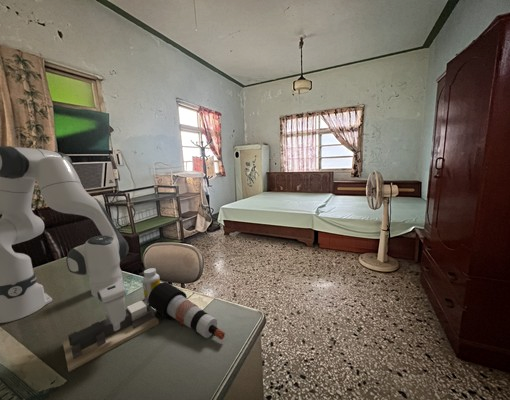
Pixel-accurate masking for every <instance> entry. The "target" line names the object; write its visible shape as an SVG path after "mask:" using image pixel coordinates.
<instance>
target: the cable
mask: <svg viewBox="0 0 510 400" xmlns="http://www.w3.org/2000/svg"><path fill="white" fill-rule="evenodd" d="M147 303H148V304H149V305H150V306H151V307H152V308H153V309H154V311H156V312H158V313H159V314H160V315H161V316H163V317H164V318H166V319H167V320H172V319H175V320H176V321H178V322H179V323H180V324H181V325H184V326H186V327H188V328H190V329H191V330H192V331H195V332H196V333H197V334H199V335H201V336H202V337H203V338H205V339H209V338H210V337H211V336H212V335H213V337H217V338H218V339H219V340H224V338H225V336H226V332H224V331H223V330H221V329H220V328H219V327H218V319H216V318H215V317H213V316H212V315H210V314H209V313H208V312H206V311H204V310H203V309H202V308H201V307H199V306H198V305H197V304H195V303H193V302H192V301H190V300H189V299H188V297H187V294H186V293H185V292H184V291H183V290H181V289H179V288H178V287H176V286H174V285H173V284H172V283H169V282H166V281H162V282H160V284H158V285H157V286H155V287H154V288H153V289H152V291H151V292H150V295H149V297H148V302H147Z"/></svg>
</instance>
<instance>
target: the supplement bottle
mask: <svg viewBox="0 0 510 400" xmlns="http://www.w3.org/2000/svg"><path fill="white" fill-rule="evenodd" d="M143 275H144V277H142V280H141V281H142V288H143V296H144V301H146V302H147V303H148V297H149V295H150V292H151V291H152V289H153V288H154V287H155V286H157V285H158V284H160V283H161V280H160V279H161V277H160V275H159V273H157V269H156V268H155V267H150V268H148V269H144V271H143Z"/></svg>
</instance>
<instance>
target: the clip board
mask: <svg viewBox="0 0 510 400" xmlns="http://www.w3.org/2000/svg"><path fill="white" fill-rule="evenodd" d="M142 302H143V303H144V304H145V305H146V306H147V312H146V313H144V314H142V315H140V316H138V317H136V318H133V319H131V320H132V325H131V326H129V327H127V328H125V329H123V330H121V331H119V332H117V333H115V334H113V335H111V336H109V337H107V338H105V334H104V332H102V333H100V334H98V335H96V339H97V343H95V344H93V345H91V346H89V347H87V348H85V349H83V350H81V346H80V343H79V344H77V345H75V346H72V340H71V334H74V333H76V332H77V331H74V332H72V333H70V334H68V336H67V337H68V339H67V340H64V341H62V347H63V350H64V355H65V361H66V366H67V371H68V373H69V372H71V371H73V370H75V369H77V368H78V367H81V366H83V365H84V364H86V363H89V362H91V361H92V360H94V359H96V358H97V357H99V356H101V355H103V354H105V353H106V352H109V351H111V350H113V349H114V348H116V347H118V346H120V345H122V344H123V343H125V342H127V341H129V340H131V339H133V338H135V337H136V336H139V335H141V334H142V333H144V332H146V331H148V330H149V329H151V328H153V327H155V326H157V325H159V324H160V322H159V321H160V320H159V319H158V318H157V317H156V315H155V314H156V313H155V309H154V308H152V307H151V306H150V305H149V303H148V302H147V301H145V300H144V301H142ZM125 310H127V308H125ZM98 322H99V321H97V322H94V323H92V324H91V325H90V326H92V325H94V324H96V323H98Z"/></svg>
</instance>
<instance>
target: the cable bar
mask: <svg viewBox="0 0 510 400" xmlns="http://www.w3.org/2000/svg"><path fill="white" fill-rule="evenodd" d="M143 302H144V301H143V300H139V301H137V302H135V303H133V304H130V305H128V306H127V307H126V309H127V310H126V309H125V311H126V317H125V320H124V321H122V322H120V329H119V330H117V331H114V330H113V326H112V324H111V322H110V320H109V318H107V317H106V319H103V320H101V321H97V322H98V323H96V322H95V323H96V324H94V323H93V324H94V325H92V324H91V325H92V326H91V325H89V326H88V327H85V328H83V329H80V330H78V331H75V332H76V333H74V332H73V333H74V334H72V333H70V334H71V340H72V346H75V345H77V344H79V343H80V346H81V350H83V349H85V348H87V347H89V346H91V345H93V344H95V343H97V339H96V335H98V334H100V333H102V332H104V334H105V338H107V337H109V336H111V335H113V334H115V333H117V332H119V331H121V330H123V329H125V328H127V327H129V326H131V325H132V320H131V319H133V318H136V317H138V316H140V315H142V314H144V313H146V312H147V306H146V305H145V304H144V303H143Z"/></svg>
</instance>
